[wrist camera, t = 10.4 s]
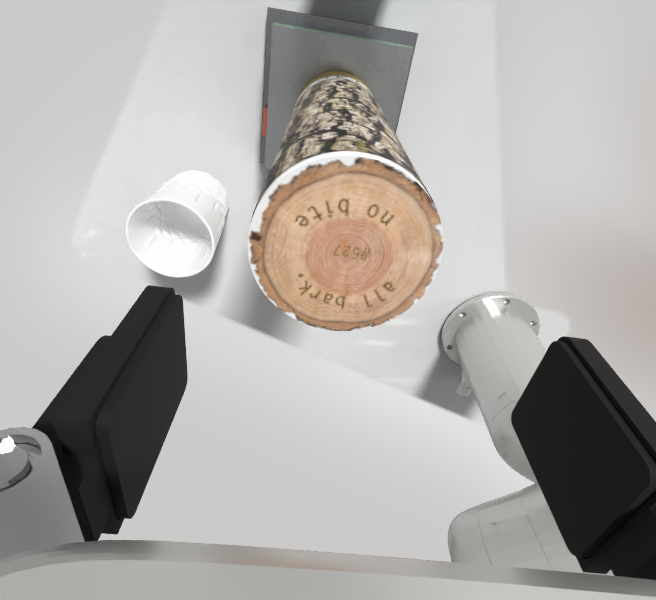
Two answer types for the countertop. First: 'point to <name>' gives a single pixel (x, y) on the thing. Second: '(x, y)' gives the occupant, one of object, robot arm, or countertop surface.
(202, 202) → the white cup
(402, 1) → the countertop surface
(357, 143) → the paper tube
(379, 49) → the stand
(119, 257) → the countertop surface
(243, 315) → the countertop surface
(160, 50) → the countertop surface
